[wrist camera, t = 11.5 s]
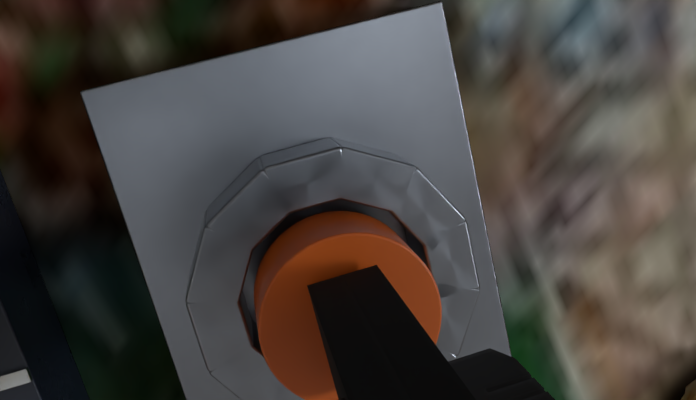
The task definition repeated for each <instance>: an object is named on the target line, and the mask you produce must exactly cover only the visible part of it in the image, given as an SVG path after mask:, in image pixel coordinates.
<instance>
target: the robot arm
mask: <svg viewBox="0 0 696 400" xmlns="http://www.w3.org/2000/svg"><path fill="white" fill-rule="evenodd" d="M307 287H308V291H309V294H310V298H311V302H312V305H313V309H314V312H315V316H316V320H317V323H318V327H319V330H320V334H321V338H322V341H323V345H324V349H325V352H326V356H327V359H328V363H329V367H330V370H331V374H332V377H333V381H334V385H335V388H336V392H337V395H338V400H555V399H554V398H553V397H552V396H551V395H550V394H549V393H548V392H545V391H544V388H543V387H542V386H541V385H540V384H539V383H538V382H537V381H536V380H535V379H534V378H532V377H531V374H530V373H529V372H528V371H527V370H526V369H525V368H524V367H523V366H522V365H521V364H520V363H519V362H518V361H517V360H516V359H515V358H513V357H511V356H508V355H506V354H503V353H501V352H498V351H496V350H493V349H491V348H489V349H486V350H483V351H479V352H476V353H473V354H470V355H467V356H464V357H461V358H458V359H455V360H452V361H447V360H446V358H445V357H444V355H443V354H442V353H441V351H440V350H439V349H438V347H437V346H436V345H435V343H434V342H433V341H432V339H431V338H430V336H429V335H428V334H427V332H426V331H425V330H424V328H423V327H422V326H421V324H420V323H419V321H418V320H417V319H416V317H415V316H414V315H413V313H412V312H411V311H410V309H409V308H408V307H407V305H406V304H405V302H404V301H403V300H402V298H401V297H400V296H399V294H398V293H397V292H396V290H395V289H394V287H393V286H392V285H391V283H390V282H389V281H388V279H387V278H386V277H385V275H384V274H383V273H382V271H381V270H380V268H379V267H378V266H377V265H374V266H371V267H367V268H364V269H361V270H357V271H354V272H351V273H347V274H344V275H340V276H337V277H334V278H330V279H327V280H324V281H320V282H317V283H314V284H310V285H307Z"/></svg>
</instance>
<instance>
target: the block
mask: <svg viewBox="0 0 696 400" xmlns="http://www.w3.org/2000/svg"><path fill="white" fill-rule="evenodd" d="M80 94H81V97H82V100H83V103H84V106H85V109H86V112H87V115H88V117H89V120H90V123H91V126H92V129H93V132H94V135H95V138H96V141H97V144H98V146H99V149H100V152H101V155H102V158H103V161H104V164H105V167H106V170H107V172H108V175H109V178H110V181H111V184H112V187H113V190H114V193H115V196H116V199H117V201H118V204H119V207H120V210H121V213H122V216H123V219H124V222H125V225H126V227H127V230H128V233H129V236H130V239H131V242H132V245H133V248H134V251H135V254H136V256H137V259H138V262H139V265H140V268H141V271H142V274H143V277H144V280H145V283H146V285H147V288H148V291H149V294H150V297H151V300H152V303H153V306H154V309H155V311H156V314H157V317H158V320H159V323H160V326H161V329H162V332H163V335H164V338H165V340H166V343H167V346H168V349H169V352H170V355H171V358H172V361H173V364H174V366H175V369H176V372H177V375H178V378H179V381H180V384H181V387H182V390H183V393H184V395H185V398H186V400H304V399H303V398H301V397H299V396H297V395H295V394H294V393H292V392H291V391H290V390H288V389H287V388H286V387H285V386H284V385H283V384H282V383H281V382H280V381H278V379H277V378H276V377H275V376H274V374H273V373H272V372H271V370H270V368H269V367H268V365H267V363H266V361H265V359H264V356H263V354H262V351H261V347H260V342H259V337H258V329H257V321H256V313H255V305H254V283H255V278H256V274H257V271H258V268H259V265H260V262H261V260H262V258H263V256H264V255H265V253H266V251H267V250H268V248H269V247H270V246H271V244H272V243H273V242H274V241H275V240H276V239H277V237H278V236H279V235H281V234H282V233H283V232H284V231H285V230H286V229H288V228H289V227H291V226H292V225H294V224H295V223H297V222H299V221H301V220H303V219H305V218H307V217H310V216H312V215H315V214H319V213H324V212H329V211H352V212H357V213H362V214H365V215H368V216H371V217H373V218H375V219H377V220H379V221H381V222H382V223H384V224H385V225H387V226H388V227H390V228H391V229H392V230H393V231H394V232H395V233H396V234H397V235H398V236H399V237H400V238H401V239H402V240H403V241H404V242H405V243H406V244H407V245H408V246H409V247H410V248H411V249H412V250H413V251H414V252H415V253H416V254H417V255H418V256H419V257H420V259H421V260H422V261H423V262H424V263H425V264H426V266H427V267H428V269H429V270H430V272H431V273H432V275H433V277H434V280H435V282H436V284H437V287H438V290H439V294H440V299H441V306H442V319H441V328H440V332H439V336H438V340H437V343H436V346H437V347H438V349H439V350H440V351H441V353H442V354H443V355H444V357H445V358H446V360H447V361H452V360H455V359H458V358H461V357H464V356H467V355H470V354H473V353H476V352H479V351H483V350H486V349H489V348H491V349H493V350H496V351H498V352H501V353H503V354H506V355H508V356H511V351H510V346H509V341H508V336H507V331H506V326H505V321H504V316H503V310H502V305H501V300H500V295H499V290H498V285H497V280H496V275H495V269H494V264H493V259H492V254H491V249H490V244H489V239H488V234H487V229H486V223H485V218H484V213H483V208H482V203H481V198H480V193H479V188H478V183H477V177H476V172H475V167H474V162H473V157H472V152H471V147H470V142H469V136H468V131H467V126H466V121H465V116H464V111H463V106H462V101H461V96H460V90H459V85H458V80H457V75H456V70H455V65H454V60H453V55H452V49H451V44H450V39H449V34H448V29H447V24H446V19H445V14H444V9H443V3H442V2H441V1H438V2H434V3H430V4H426V5H422V6H418V7H414V8H410V9H406V10H402V11H398V12H394V13H390V14H386V15H382V16H378V17H374V18H370V19H366V20H362V21H358V22H354V23H350V24H346V25H342V26H338V27H334V28H330V29H326V30H322V31H318V32H314V33H310V34H306V35H302V36H298V37H294V38H290V39H286V40H282V41H278V42H274V43H270V44H266V45H262V46H258V47H254V48H250V49H246V50H242V51H238V52H234V53H230V54H226V55H222V56H218V57H214V58H210V59H206V60H202V61H198V62H194V63H190V64H186V65H182V66H178V67H174V68H170V69H166V70H162V71H158V72H154V73H150V74H146V75H142V76H138V77H134V78H130V79H126V80H122V81H118V82H114V83H110V84H106V85H102V86H98V87H94V88H90V89H87V90H83V91H81V92H80ZM511 357H512V356H511Z"/></svg>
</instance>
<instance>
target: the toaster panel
mask: <svg viewBox="0 0 696 400" xmlns="http://www.w3.org/2000/svg"><path fill="white" fill-rule="evenodd" d="M0 400H89V397H88V395H87V392H86V389H85V387H84V384H83V382H82V379H81V377H80V374H79V371H78V369H77V366H76V364H75V361H74V359H73V356H72V353H71V351H70V348H69V346H68V343H67V341H66V338H65V335H64V333H63V330H62V328H61V325H60V323H59V320H58V317H57V315H56V312H55V310H54V307H53V305H52V302H51V299H50V297H49V294H48V292H47V289H46V287H45V284H44V281H43V279H42V276H41V274H40V271H39V269H38V266H37V263H36V261H35V258H34V256H33V253H32V250H31V248H30V245H29V243H28V240H27V238H26V235H25V232H24V230H23V227H22V225H21V222H20V220H19V217H18V214H17V212H16V209H15V207H14V204H13V202H12V199H11V196H10V194H9V191H8V189H7V186H6V184H5V181H4V178H3V176H2V173H1V171H0Z"/></svg>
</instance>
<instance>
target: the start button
mask: <svg viewBox="0 0 696 400" xmlns="http://www.w3.org/2000/svg"><path fill="white" fill-rule="evenodd" d="M374 265H377V266H378V267H379V268H380V270H381V271H382V273H383V274H384V275H385V277H386V278H387V279H388V281H389V282H390V283H391V285H392V286H393V287H394V289H395V290H396V292H397V293H398V294H399V296H400V297H401V298H402V300H403V301H404V302H405V304H406V305H407V307H408V308H409V309H410V311H411V312H412V313H413V315H414V316H415V317H416V319H417V320H418V321H419V323H420V324H421V326H422V327H423V328H424V330H425V331H426V332H427V334H428V335H429V336H430V338H431V339H432V341H433V342H434V343H435V345H436V343H437V340H438V336H439V332H440V328H441V319H442V306H441V299H440V294H439V290H438V287H437V284H436V282H435V280H434V277H433V275H432V273H431V272H430V270H429V269H428V267H427V266H426V264H425V263H424V262H423V261H422V260H421V259H420V257H419V256H418V255H417V254H416V253H415V252H414V251H413V250H412V249H411V248H410V247H409V246H408V245H407V244H406V243H405V242H404V241H403V240H402V239H401V238H400V237H399V236H398V235H397V234H396V233H395V232H394V231H393V230H392V229H391V228H390V227H388V226H387V225H385V224H384V223H382V222H381V221H379V220H377V219H375V218H373V217H371V216H368V215H365V214H362V213H357V212H352V211H329V212H324V213H319V214H315V215H312V216H310V217H307V218H305V219H303V220H301V221H299V222H297V223H295V224H294V225H292V226H291V227H289V228H288V229H286V230H285V231H284V232H283V233H282V234H281V235H279V236H278V237H277V239H276V240H275V241H274V242H273V243H272V244H271V246H270V247H269V248H268V250H267V251H266V253H265V255H264V256H263V258H262V260H261V262H260V265H259V268H258V271H257V274H256V278H255V283H254V305H255V313H256V321H257V329H258V337H259V342H260V347H261V351H262V354H263V356H264V359H265V361H266V363H267V365H268V367H269V368H270V370H271V372H272V373H273V374H274V376H275V377H276V378H277V379H278V381H280V382H281V383H282V384H283V385H284V386H285V387H286V388H287V389H288V390H290V391H291V392H292V393H294V394H295V395H297V396H299V397H301V398H303V399H304V400H338V395H337V392H336V388H335V385H334V381H333V377H332V374H331V370H330V367H329V363H328V359H327V356H326V352H325V349H324V345H323V341H322V338H321V334H320V330H319V327H318V323H317V320H316V316H315V312H314V309H313V305H312V302H311V298H310V294H309V291H308V287H307V285H310V284H314V283H317V282H320V281H324V280H327V279H330V278H334V277H337V276H340V275H344V274H347V273H351V272H354V271H357V270H361V269H364V268H367V267H371V266H374Z"/></svg>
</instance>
